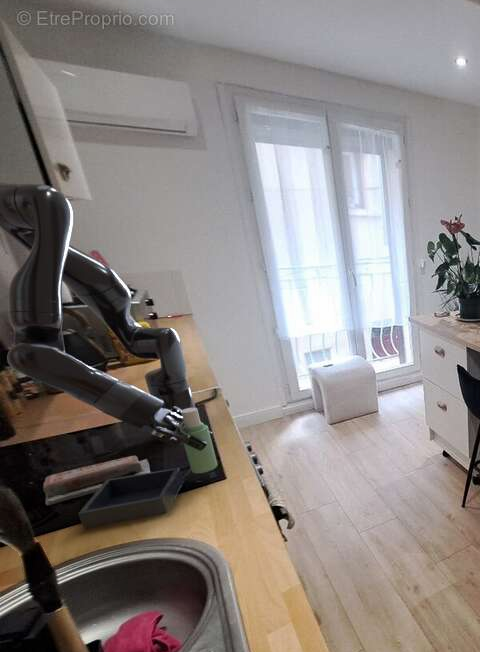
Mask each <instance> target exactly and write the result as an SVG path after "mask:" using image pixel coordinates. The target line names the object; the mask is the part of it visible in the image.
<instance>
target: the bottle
mask: <svg viewBox="0 0 480 652" xmlns="http://www.w3.org/2000/svg"><path fill="white" fill-rule="evenodd" d="M181 413H182V417H183V420H184V424H185V426H184V431H186V432H187V433H189V434H190V435H191V436H194V437H196V438H198V439H200V440H203V441H205V442H207V445H206V447H205V448H204V449H203V450H201V451H200V450H197V449H195V448H193V447H191V446H189V445H187V444H183V446H184V449H185V453H186V456H187V459H188V463H189V467H190V470H191V473H193V474H204V473H208V472H210V471H213V470H215V469H216V468H217V467H218V460H217V456H216V453H215V450H214V445H213V442H212V436H211V437H210V433H209V431H210V430H209V426H208V425H207V424H204V423H203V422H202V421H201V417H200V414H199V410H198V408H197V407H195V408H187V409H184V410H182V411H181ZM181 435H182V434H181Z"/></svg>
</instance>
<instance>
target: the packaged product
mask: <svg viewBox="0 0 480 652" xmlns="http://www.w3.org/2000/svg"><path fill="white" fill-rule="evenodd" d="M150 467H151V466H150V464H149V461H148V459H147V458H146V459H142V460H139V457H138V456H137V455H130V456H126V457H121V458H118V459H117V458H116V459H113V460H109V461H104V462H100V463H95V464H92V465H91V464H90V465H88V466H83V467H78V468H76V469H75V468H74V469H71V470H66V471H62V472H58V473H54V474H51V475H48V476H46V477H45V478H44V479H45V480H44V481H43V483H42V484H43V487H42V489H43V493H45V506H50V505H54V504H58V503H62V502H64V501H69V500H71V499H77V498H79V497H83V496H86V495H87V496H88V495H90V494H95V493H96V492H97V490H98V489H99V488H100V487H101V486H102V484H103V483H104V482H105V481H106V480H107V479H114V478H120V477H126V476H132V475H138V474H144V473H150V472H151V469H150Z"/></svg>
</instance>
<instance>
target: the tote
mask: <svg viewBox="0 0 480 652" xmlns="http://www.w3.org/2000/svg"><path fill="white" fill-rule="evenodd" d="M181 471H182V470H181V468H180V467H176V468H175V467H174V468H168V469H163V470H158V471H150V473H144V474H138V475H132V476H126V477H120V478H114V479H107V480H106V481H105V482H104V483H103V484H102V486H101V487H100V488H99V489H98V490H97V492H94V493H93V495H92V496H91V498H89V500H88V501H87V502H86V503H85V505H84V506H83V507H82V508H81V509H80V511H79V512H78V513H77V515H78V517H79V519H80V522H81V524H82V527H83V529H84V530H90V529H95V528H101V527H105V526H111V525H115V524H120V523H125V522H130V521H136V520H141V519H145V518H150V517H151V518H152V517H155V516H161V515H165V514H166V515H167V514H168V512H169V510H170V508H171V506H172V505H173V503H174V501H175V500H176V497H177V495H178V493H179V491H180V489H181V488H182V486H183V484H184V478H183V474H182V472H181Z"/></svg>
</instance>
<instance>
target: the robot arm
mask: <svg viewBox="0 0 480 652" xmlns="http://www.w3.org/2000/svg"><path fill="white" fill-rule="evenodd" d="M0 228H1V229H2V230H3V231H4V232H5V233H6V234H8V235H9V236H10V237H11V238H12V239H14V240H15V241H17V242H18V243H19V244H20V245H21V246H22V247H24V248H25V249H26V250H28V252H29V254H28V255H27V257H26V258H25V260H24V261H23V263H22V264H21V265H20V266H19V268H18V269H17V271H16V272H15V273H14V274H13V277H12V278H11V280H10V283H9V285H8V292H7V304H8V305H7V306H8V320H9V323H10V326H11V327H12V329H13V339H14V345H13V346H12V347H11V348H10V349H9V351H8V352H7V356H6V358H7V363H8V365H9V366H10V367H11V369H13V370H14V371H16V372H17V373H19V374H20V375H23V376H25V377H28V378H31V379H33V380H35V381H38V382H40V383H42V384H45V385H47V386H50V387H52V388H55V389H58V390H60V391H62V392H64V393H65V394H68V395H69V396H71V397H72V398H75V399H76V400H78V401H81V402H83V403H84V404H87V405H89V406H91V407H93V408H95V409H97V410H99V411H100V412H102V413H104V414H106V415H107V416H110V417H112V418H114V419H117V420H118V421H121V422H123V423H125V424H127V425H129V426H132V427H134V428H136V429H142V428H143V427H144V426H146V427H148V428H149V429H150V430H152V431H151V432H150V433H149V437H150V438H151V439H154V440H157V441H160V442H163V443H166V444H168V445H171V446H174V447H180V445H184V444H187V445H189V446H191V447H193V448H195V449H197V450H200V451H201V450H203V449H204V448H205V447H206V445H207V442H205V441H203V440H200V439H198V438H196V437H194V436H191V435H190V434H189V433H187V432H186V431H184V426H185V424H184V420H183V417H182V413H181V411H182V410H184V409H187V408H196V406H198V405H200V404H202V403H206V402H208V401H211V400H213V399H215V398H216V397H218V389H217V388H216V387H215V388H213V391H214V395H213V396H210V397H208V398H206V399H202V400H199V401H197V402H195V401H194V397H193V394H192V391H191V387H190V383H189V380H188V375H187V364H186V359H185V354H184V349H183V344H182V340H181V337H180V335H179V333H178V332H177V331H176V330H175V329H174V328H171V327H144V326H141V325H140V324H139V323H138V322H137V321H136V320H135V319H134V318H133V316H132V314H131V307H132V293H131V290H130V288H129V287H128V285H126V283H125V282H124V281H123V280H122V279H121V278H120V277H119V275H118V274H117V273H116V272H115V271H114V270H113V269H112V268H111V267H110V266H109V265H107V264H106V263H104V262H102V261H101V260H99V259H98V258H97V257H94V256H92V255H90V254H89V253H86V252H84V251H82V250H81V249H79V248H77V247H75V246H74V245H71V244H70V243H71V238H72V233H73V228H74V211H73V207H72V205H71V203H70V201H69V200H68V198H67V197H66V196H65V194H64V193H62V192H61V191H60V190H59V189H57V188H55V187H53V186H52V185H47V184H43V183H42V184H41V183H30V182H29V183H26V182H0ZM63 283H64V285H65V286H66V287H67V288H68V289H69V290H70V291H71V292H72V293H73V294H74V295H75V296H76V297H77V298H78V299H79V300H80V301H81V302H82V303H83V304H84V305H85V306H87V308H89V310H91V311H92V312H93V313H94V314H95V315H96V316H97V317H98V319H100V321H102V323H104V325H105V326H106V327H107V328H108V329H109V331H111V333H112V334H113V335H114V336H115V338H116V340H118V341H119V343H120V344H121V345H122V347H123V348H124V349H125V350H126V351H127V352H128V353H129V354H130V355H131V356H132V357H134V358H136V359H138V360H145V361H147V360H149V361H150V360H151V361H152V360H153V361H154V360H159V361H160V367H157V368H155V369H153V370H150V371H148V372H146V373H145V375H144V381H145V383H146V387H147V390H148V392H147V391H144V390H143V389H140V388H139V387H136V386H134V385H132V384H130V383H128V382H124V381H122V380H119V379H118V378H116V377H114V376H113V375H111V374H109V373H106V372H105V371H102V370H100V369H98V368H95V367H92V366H90V365H88V364H86V363H84V362H83V361H81V360H79V359H77V358H75V357H74V356H72V355H70V354H68V353H66V347H65V342H64V334H63V330H62V329H63V297H62V295H63V293H62V291H63V289H62V288H63ZM209 433H210V437H211V438H212V436H213V432H212V431H211V430H209ZM181 434H182V435H181Z"/></svg>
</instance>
